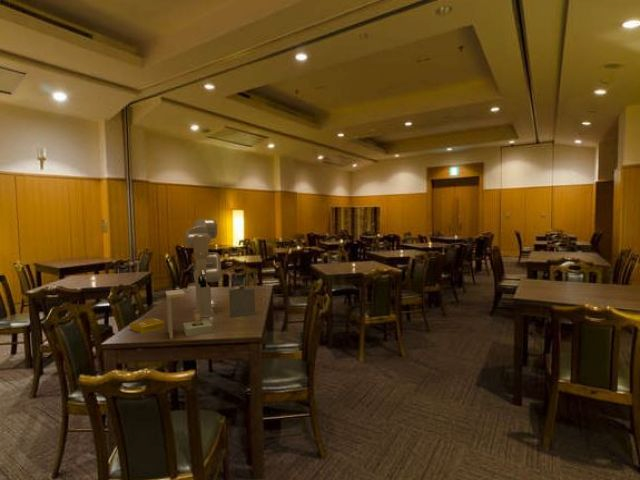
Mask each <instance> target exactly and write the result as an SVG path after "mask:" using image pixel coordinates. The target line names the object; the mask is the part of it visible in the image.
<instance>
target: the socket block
mask: <svg viewBox="0 0 640 480" xmlns="http://www.w3.org/2000/svg"><path fill="white" fill-rule="evenodd" d="M165 295H166V296H165V297H166V299H165V300H166V315H167V316H166V318H167V333H168V334H169V339H170V340H172V339H174V333H173V332H174V331H173V315H172V314H173V311H172V299H173V298H181V297H186V292H185V291H184V289H173V290H165ZM182 326H183V327H182V328H183V333H184V334H185V337H193V336H199V335H207V334H212V333H213V324H212V323H211V322H210V320H209V319H204V320H201V325H199V326H194V321H188V322H183V323H182Z"/></svg>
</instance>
